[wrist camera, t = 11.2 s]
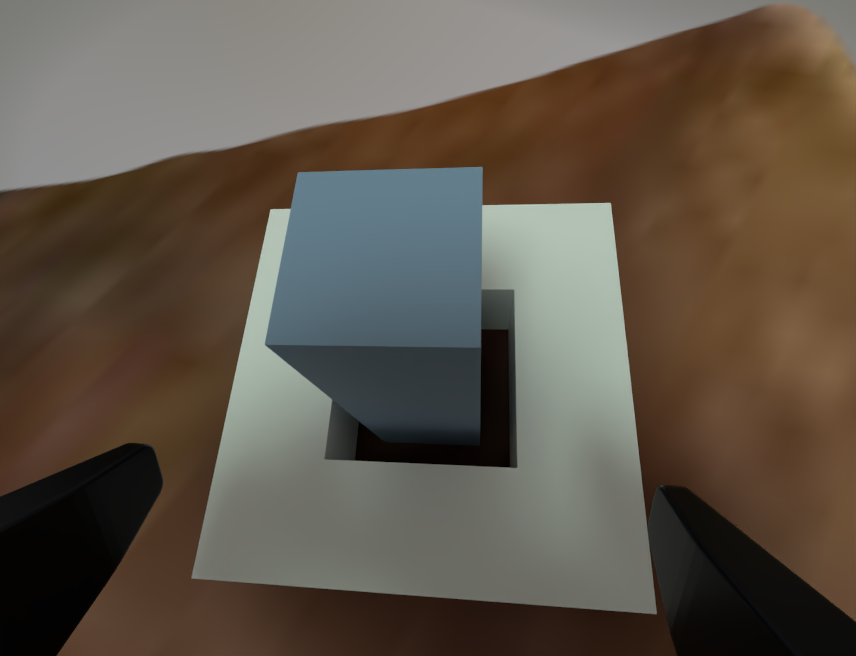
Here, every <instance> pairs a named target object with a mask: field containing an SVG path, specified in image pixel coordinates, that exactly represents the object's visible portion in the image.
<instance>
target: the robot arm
mask: <svg viewBox="0 0 856 656" xmlns="http://www.w3.org/2000/svg"><path fill="white" fill-rule="evenodd" d="M162 486H163V477H162V474H161V470H160V467H159V463H158V460H157V456H156V453H155V450H154V448H153V447H152V446H151V445H148V444H139V443H127V444H124V445H122V446H120V447H117V448H115V449H112V450H110V451H108V452H105V453H103V454H101V455H98V456H96V457H93V458H91V459H89V460H86V461H84V462H82V463H79V464H77V465H74V466H72V467H70V468H67V469H65V470H63V471H60V472H58V473H55V474H53V475H51V476H48V477H46V478H44V479H41V480H39V481H36V482H34V483H32V484H29V485H27V486H25V487H22V488H20V489H17V490H15V491H13V492H10V493H8V494H6V495H3V496H1V497H0V656H57V654H58V653H59V651H60V650H61V649H62V647H63V646H64V644H65V643H66V641H67V640H68V638H69V637H70V636H71V634H72V633H73V631H74V630H75V628H76V627H77V625H78V624H79V623H80V621H81V620H82V618H83V617H84V615H85V614H86V612H87V611H88V610H89V608H90V607H91V605H92V604H93V602H94V601H95V600H96V598H97V597H98V595H99V594H100V592H101V591H102V589H103V588H104V587H105V585H106V584H107V582H108V581H109V579H110V578H111V576H112V575H113V573H114V572H115V570H116V569H117V567H118V565H119V564H120V562H121V560H122V559H123V557H124V555H125V553H126V552H127V550H128V548H129V547H130V545H131V543H132V541H133V540H134V538H135V536H136V534H137V533H138V531H139V529H140V527H141V526H142V524H143V522H144V520H145V519H146V517H147V515H148V513H149V512H150V510H151V508H152V506H153V505H154V503H155V501H156V499H157V498H158V496H159V494H160V492H161V490H162ZM648 537H649V542H650V546H651V551H652V555H653V560H654V564H655V569H656V573H657V577H658V582H659V586H660V591H661V595H662V600H663V604H664V609H665V613H666V618H667V622H668V626H669V630H670V634H671V637H672V640H673V644H674V647H675V650H676V653H677V656H856V622H855V621H854V620H853V619H852V618H850V617H849V616H848V615H847V614H845V613H844V612H843V611H841V610H840V609H839V608H838V607H836V606H835V605H834V604H833V603H831V602H830V601H829V600H828V599H826V598H825V597H824V596H823V595H821V594H820V593H819V592H818V591H816V590H815V589H814V588H813V587H811V586H810V585H809V584H807V583H806V582H805V581H804V580H802V579H801V578H800V577H799V576H797V575H796V574H795V573H794V572H792V571H791V570H790V569H789V568H787V567H786V566H785V565H784V564H782V563H781V562H780V561H778V560H777V559H776V558H775V557H773V556H772V555H771V554H770V553H768V552H767V551H766V550H765V549H763V548H762V547H761V546H760V545H758V544H757V543H756V542H755V541H753V540H752V539H751V538H750V537H748V536H747V535H746V534H744V533H743V532H742V531H741V530H739V529H738V528H737V527H736V526H734V525H733V524H732V523H731V522H729V521H728V520H727V519H726V518H724V517H723V516H722V515H721V514H719V513H718V512H717V511H715V510H714V509H713V508H712V507H710V506H709V505H708V504H707V503H705V502H704V501H703V500H702V499H700V498H699V497H698V496H697V495H695V494H694V493H693V492H692V491H690V490H689V489H687V488H685V487H682V486H671V485H660V486H658V487H657V489H656V491H655V494H654V499H653V503H652V508H651V512H650V516H649V521H648Z"/></svg>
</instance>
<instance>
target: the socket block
mask: <svg viewBox="0 0 856 656" xmlns="http://www.w3.org/2000/svg"><path fill="white" fill-rule="evenodd" d="M290 211H291V209H271V210H270V215H269V220H268V224H267V229H266V234H265V238H264V243H263V247H262V252H261V257H260V261H259V266H258V271H257V275H256V280H255V285H254V289H253V294H252V299H251V303H250V308H249V313H248V317H247V322H246V327H245V331H244V336H243V341H242V345H241V350H240V355H239V359H238V364H237V368H236V373H235V378H234V382H233V387H232V392H231V396H230V401H229V406H228V410H227V415H226V420H225V424H224V429H223V434H222V438H221V443H220V448H219V452H218V457H217V462H216V466H215V471H214V475H213V480H212V485H211V489H210V494H209V499H208V503H207V508H206V513H205V517H204V522H203V527H202V531H201V536H200V541H199V545H198V550H197V555H196V559H195V564H194V569H193V573H192V578H193V579H206V580H219V581H232V582H245V583H258V584H271V585H284V586H297V587H310V588H323V589H336V590H349V591H362V592H375V593H388V594H401V595H414V596H427V597H440V598H453V599H466V600H478V601H491V602H504V603H517V604H530V605H543V606H556V607H569V608H582V609H595V610H608V611H621V612H634V613H647V614H657V610H656V601H655V593H654V584H653V575H652V566H651V557H650V548H649V539H648V530H647V521H646V512H645V504H644V495H643V486H642V477H641V468H640V459H639V450H638V441H637V432H636V423H635V414H634V406H633V397H632V388H631V379H630V370H629V361H628V352H627V343H626V334H625V325H624V317H623V308H622V299H621V290H620V281H619V272H618V263H617V254H616V245H615V236H614V227H613V219H612V210H611V203H586V204H532V205H482V290H481V329H502V330H508V360H509V445H510V468H507V467H484V466H462V465H440V464H417V463H395V462H372V461H355V455H356V446H357V436H358V427H359V421H358V420H357V419H356V418H354V417H353V416H352V415H351V414H349V413H348V412H347V411H346V410H344V409H343V408H342V407H341V406H339V405H338V404H337V403H336V402H335V401H333V400H332V399H331V398H330V397H328V396H327V395H326V394H325V393H323V392H322V391H321V390H320V389H319V388H317V387H316V386H315V385H314V384H312V383H311V382H310V381H309V380H307V379H306V378H305V377H304V376H302V375H301V374H300V373H299V372H298V371H296V370H295V369H294V368H293V367H291V366H290V365H289V364H288V363H286V362H285V361H284V360H283V359H282V358H280V357H279V356H278V355H277V354H275V353H274V352H273V351H272V350H270V349H269V348H268V347H267V346H265V340H266V335H267V330H268V324H269V319H270V314H271V309H272V304H273V299H274V293H275V288H276V283H277V278H278V273H279V268H280V262H281V257H282V252H283V247H284V242H285V237H286V231H287V226H288V221H289V216H290Z"/></svg>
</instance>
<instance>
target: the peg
mask: <svg viewBox="0 0 856 656" xmlns="http://www.w3.org/2000/svg"><path fill="white" fill-rule="evenodd" d="M482 173H483V167H465V168H431V169H397V170H363V171H329V172H298V175H297V180H296V185H295V190H294V195H293V200H292V206H291V211H290V216H289V221H288V226H287V231H286V237H285V242H284V247H283V252H282V257H281V262H280V268H279V273H278V278H277V283H276V288H275V293H274V299H273V304H272V309H271V314H270V319H269V324H268V330H267V335H266V340H265V346H267V347H268V348H269V349H270V350H272V351H273V352H274V353H275V354H277V355H278V356H279V357H280V358H282V359H283V360H284V361H285V362H286V363H288V364H289V365H290V366H291V367H293V368H294V369H295V370H296V371H298V372H299V373H300V374H301V375H302V376H304V377H305V378H306V379H307V380H309V381H310V382H311V383H312V384H314V385H315V386H316V387H317V388H319V389H320V390H321V391H322V392H323V393H325V394H326V395H327V396H328V397H330V398H331V399H332V400H333V401H335V402H336V403H337V404H338V405H339V406H341V407H342V408H343V409H344V410H346V411H347V412H348V413H349V414H351V415H352V416H353V417H354V418H356V419H357V420H358V421H359V422H360V423H362V424H363V425H364V426H365V427H367V428H368V429H369V430H370V431H372V432H373V433H374V434H375V435H377V436H378V437H379V438H380V439H381V440H383V441H384V442H391V443H417V444H444V445H470V446H480V402H481V290H482Z"/></svg>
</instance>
